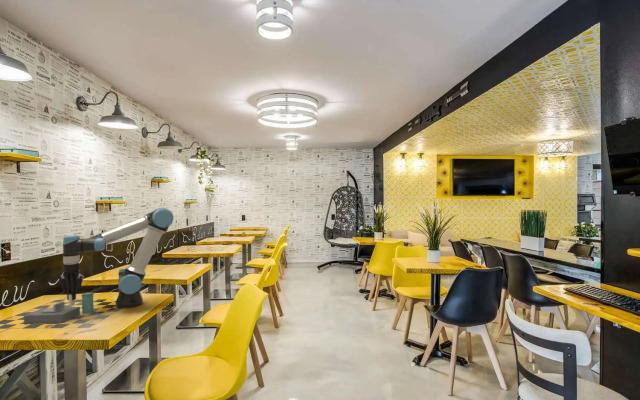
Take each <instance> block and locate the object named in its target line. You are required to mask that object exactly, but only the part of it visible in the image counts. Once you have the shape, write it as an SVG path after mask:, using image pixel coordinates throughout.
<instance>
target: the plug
mask: <svg viewBox="0 0 640 400" xmlns="http://www.w3.org/2000/svg"><path fill="white" fill-rule="evenodd" d="M94 295H95V293H94V292H85V293H82V294H81V305H82V306H81V313H82V314H90V313H92V312H93V313H94Z"/></svg>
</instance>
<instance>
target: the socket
mask: <svg viewBox="0 0 640 400" xmlns="http://www.w3.org/2000/svg"><path fill="white" fill-rule="evenodd" d="M64 307H65V308H64V309H62V310H59V311H57V312H49V313H41V311H43V310H45V309H48V308H49V307H41V308H40V309H37V310H34V311H32V312H29V313H27V314H24V315H23V324H24V325H31V324H32V325H37V324H38V325H39V324H41V325H43V324H64V323H66V322H67V321H70V320H72V319H74V318H76V317H79V316H80V314H81V306H71V307H69V306H64Z"/></svg>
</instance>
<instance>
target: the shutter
mask: <svg viewBox="0 0 640 400" xmlns="http://www.w3.org/2000/svg"><path fill="white" fill-rule="evenodd" d="M65 307H66V306H65V301H60V302H58V303H55V304H53V306H50V307H47V308H48V309H45V310H43V311H41V313H49V312H57V311H59V310H62V309H64V308H65Z"/></svg>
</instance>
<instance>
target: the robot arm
mask: <svg viewBox="0 0 640 400" xmlns="http://www.w3.org/2000/svg"><path fill="white" fill-rule="evenodd" d="M173 222H174V215H173V212H172V211H171V210H170V209H169V208H165V207H159V208H156V209H154V210H153V211H151V212H148V213H146V214H144V215H143V217H140V218H137V219H135V220H132V221H130V222H128V223H125V224H122V225H119V226H117V227H114V228H112V229H109V230H106V231H104V232H101V233H98V234H96V235H92V236H90V237H89V238H81V237H80V235H78V234H77V235H75V234H73V235H65V236H64V237H63V239H62V240H63V242H62V254H63V255H62V263H63V265H62V271H63V272H62V274H61V275H59V276H57V278H58V280H59V282H60V286H61V289H62V293H63V294H66V298H67V299H66V300H67V301H68V307H75V304H76V303H75V300H76V299H77V294H78V293H80V291H81V288H82V285H83V281H84V280H83V279H84V278H85V275H84V274H82V273H81V272H80V269H81V267H80V266H81V264H80V261H81V259H80V257H81V256H80V255H81V254H80V253H84V252H85V253H87V252H101V251H104V250H105V248H106V245H108V244H111V243H114V242H116V241H119V240H120V239H124V238H126V237H129V236H131V235H133V234H137V233H139V232H142V231H144V230H147V231H146V232H145V236H144V237H143V238H142V241H141V243H140V245H139V247H138V249H137V251H136V253H135V254H134V255H135V256H134V257H133V259H132V260H131V261H132V262H131V263H130V264H129V266H126V267H125V268H120V269H119V270H118V273H117V275H118V295H117V298H116V300H115V308H118V309H128V308H134V307H138V305H139V306H141V305H143V304H144V298H143V296H142V294H141V287H142V285H143V284H142V283H143V281H144V278H145V277H146V275H147V274H146V269H147V267H148V264H149V263H150V260H151V258H152V257H153V254H154V252H155V250H156V249H157V246H158V244H159V242H160V240H161V238H162V236H163V235H164V234H166V233H167V232H168V229H169V228H170V226H171V225H172V224H173ZM142 303H143V304H142ZM140 304H141V305H140Z"/></svg>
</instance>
